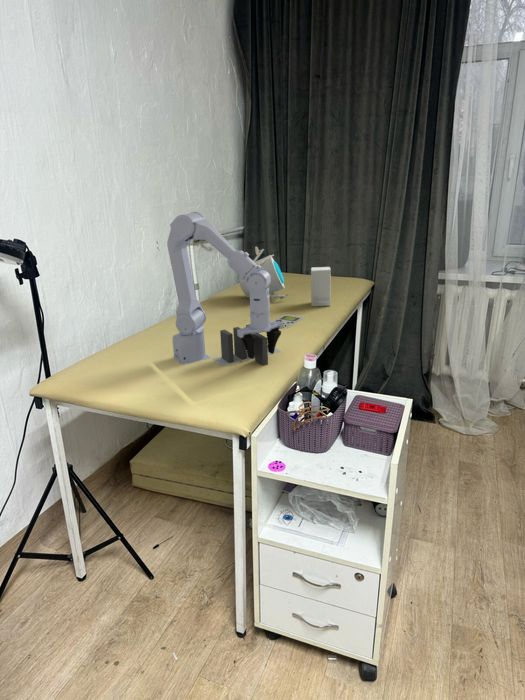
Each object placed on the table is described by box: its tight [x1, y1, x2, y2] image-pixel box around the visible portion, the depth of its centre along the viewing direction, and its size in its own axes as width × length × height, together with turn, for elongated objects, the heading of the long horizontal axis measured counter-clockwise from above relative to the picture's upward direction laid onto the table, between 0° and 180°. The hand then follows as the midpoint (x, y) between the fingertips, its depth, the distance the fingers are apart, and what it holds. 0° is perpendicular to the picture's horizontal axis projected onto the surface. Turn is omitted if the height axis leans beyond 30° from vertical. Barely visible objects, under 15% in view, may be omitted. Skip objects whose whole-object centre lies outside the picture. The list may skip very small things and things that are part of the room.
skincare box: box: [310, 266, 332, 307], centre depth 202 cm, size 8×7×16 cm
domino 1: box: [219, 329, 235, 363], centre depth 145 cm, size 2×5×9 cm, turn 31°
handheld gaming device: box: [271, 314, 305, 328], centre depth 184 cm, size 9×1×15 cm
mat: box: [212, 347, 282, 367], centre depth 150 cm, size 21×7×1 cm, turn 121°
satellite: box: [238, 246, 288, 304], centre depth 212 cm, size 23×20×25 cm
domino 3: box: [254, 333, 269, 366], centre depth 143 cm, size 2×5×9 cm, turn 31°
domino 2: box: [232, 326, 247, 360], centre depth 148 cm, size 2×5×9 cm, turn 31°
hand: (261, 355), depth 144 cm, fingers open, 6 cm apart
